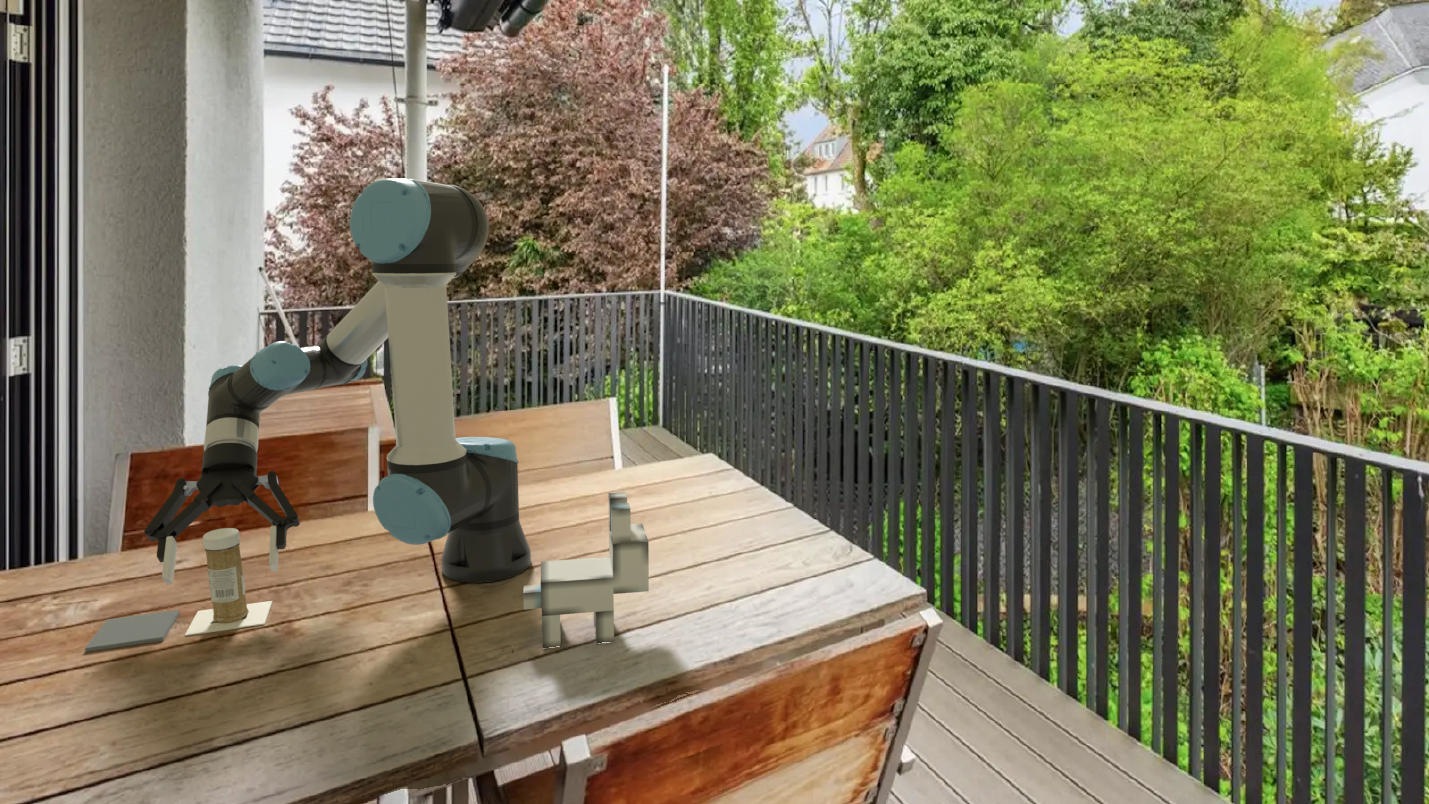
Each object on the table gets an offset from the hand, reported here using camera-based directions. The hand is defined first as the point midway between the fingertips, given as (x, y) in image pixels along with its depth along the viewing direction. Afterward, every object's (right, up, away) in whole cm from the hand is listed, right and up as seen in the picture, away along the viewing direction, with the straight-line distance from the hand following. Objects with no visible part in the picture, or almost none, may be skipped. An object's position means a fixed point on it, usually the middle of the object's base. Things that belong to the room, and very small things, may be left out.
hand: (221, 574), depth 116 cm
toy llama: (+55, -8, -2) cm, 55 cm away
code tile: (+1, -7, +1) cm, 7 cm away
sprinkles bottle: (+1, -7, +1) cm, 7 cm away
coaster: (-10, -7, -3) cm, 13 cm away
